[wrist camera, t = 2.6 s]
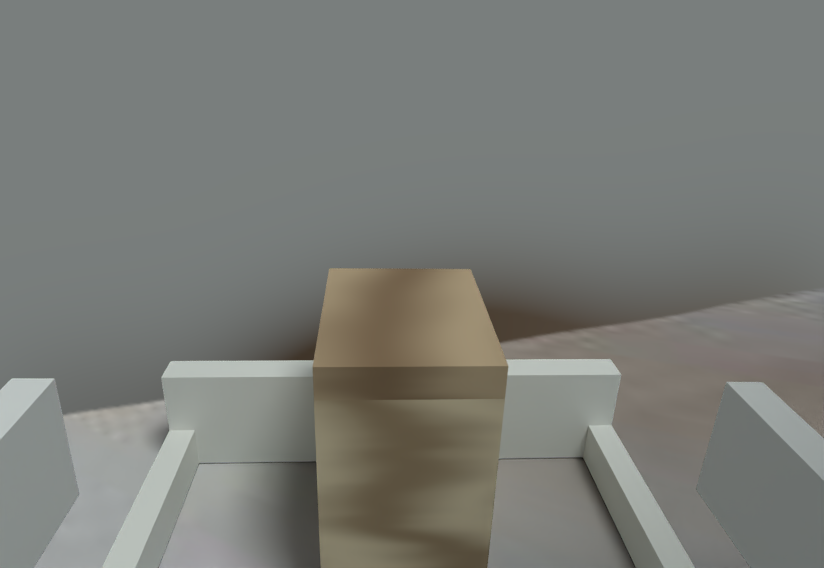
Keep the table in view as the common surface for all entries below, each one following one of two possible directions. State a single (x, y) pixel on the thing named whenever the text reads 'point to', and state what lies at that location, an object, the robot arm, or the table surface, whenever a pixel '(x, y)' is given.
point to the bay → (295, 442)
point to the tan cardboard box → (406, 419)
